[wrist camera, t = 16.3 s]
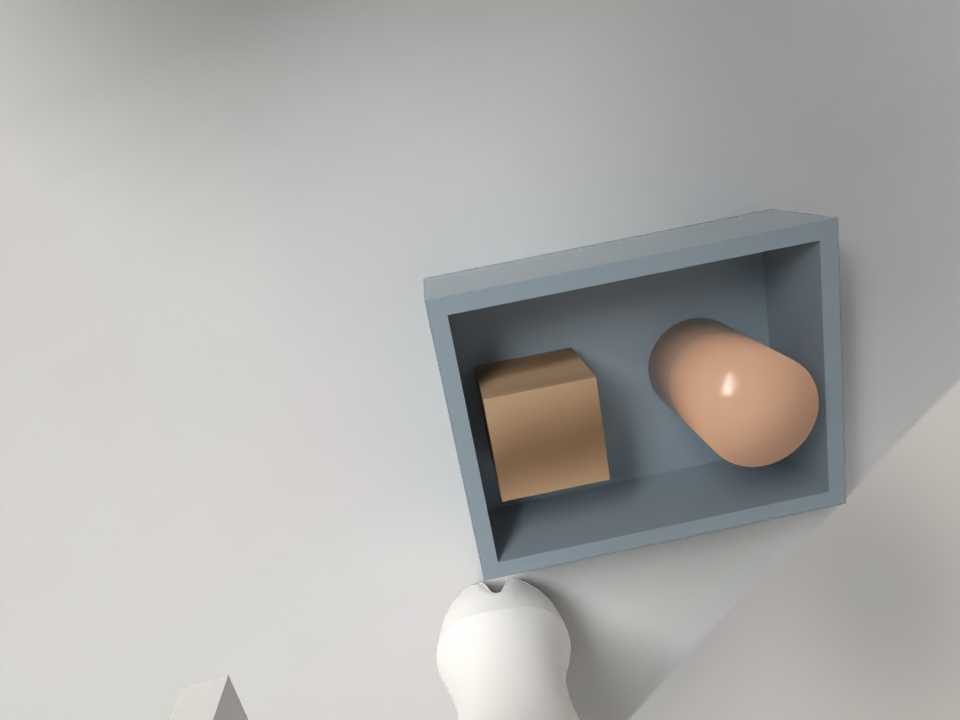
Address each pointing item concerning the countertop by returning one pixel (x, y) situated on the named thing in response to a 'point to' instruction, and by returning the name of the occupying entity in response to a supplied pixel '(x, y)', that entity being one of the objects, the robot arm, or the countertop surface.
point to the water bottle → (505, 655)
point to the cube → (542, 423)
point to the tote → (645, 380)
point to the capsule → (734, 391)
